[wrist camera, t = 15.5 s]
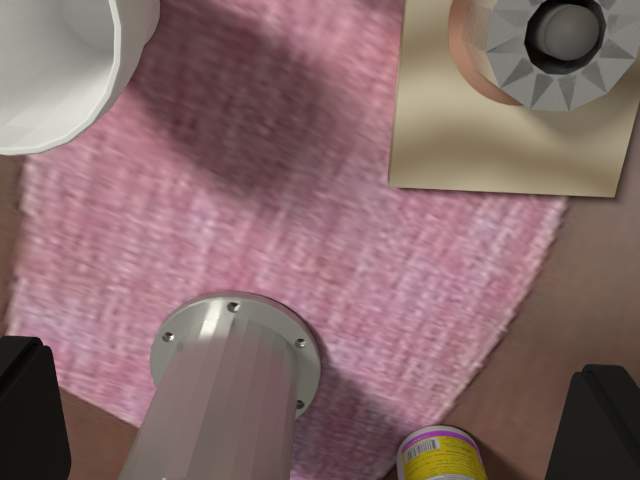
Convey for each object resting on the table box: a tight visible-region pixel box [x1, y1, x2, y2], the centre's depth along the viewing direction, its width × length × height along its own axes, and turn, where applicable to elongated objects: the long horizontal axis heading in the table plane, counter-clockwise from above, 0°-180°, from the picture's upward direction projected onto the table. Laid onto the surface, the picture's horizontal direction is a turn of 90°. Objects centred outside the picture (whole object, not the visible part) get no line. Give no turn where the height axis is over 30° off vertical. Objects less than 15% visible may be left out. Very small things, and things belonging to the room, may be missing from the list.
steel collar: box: [462, 0, 640, 111], centre depth 30 cm, size 7×7×6 cm
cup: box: [0, 0, 160, 156], centre depth 28 cm, size 10×10×14 cm
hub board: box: [388, 0, 640, 197], centre depth 31 cm, size 16×14×9 cm
